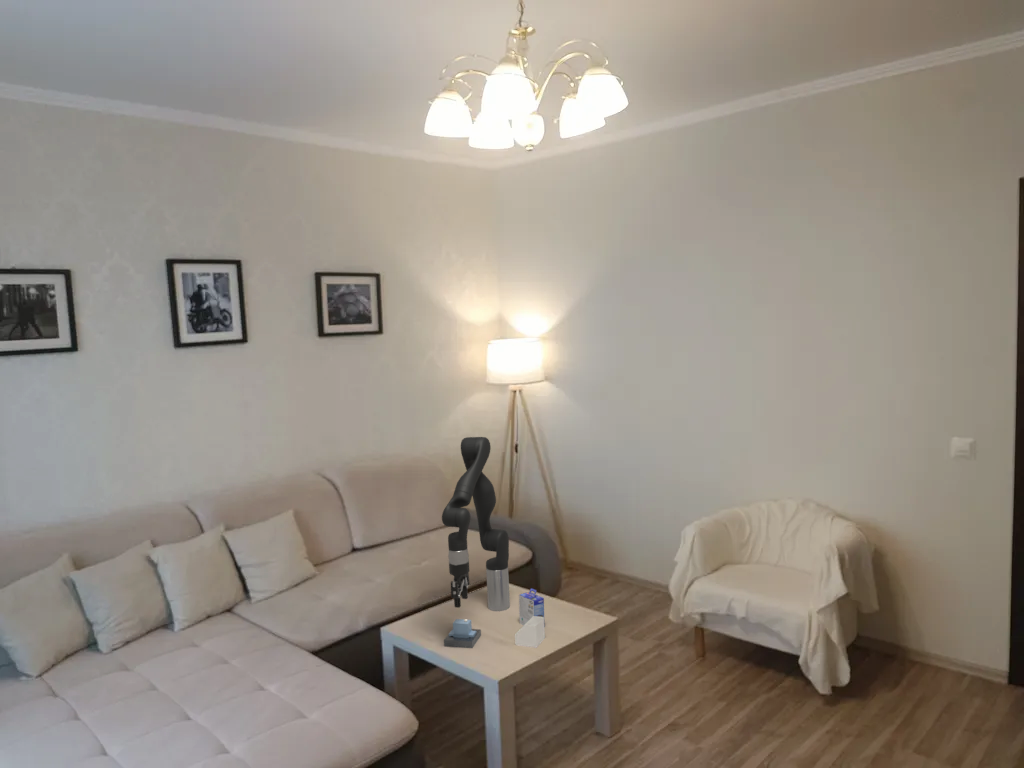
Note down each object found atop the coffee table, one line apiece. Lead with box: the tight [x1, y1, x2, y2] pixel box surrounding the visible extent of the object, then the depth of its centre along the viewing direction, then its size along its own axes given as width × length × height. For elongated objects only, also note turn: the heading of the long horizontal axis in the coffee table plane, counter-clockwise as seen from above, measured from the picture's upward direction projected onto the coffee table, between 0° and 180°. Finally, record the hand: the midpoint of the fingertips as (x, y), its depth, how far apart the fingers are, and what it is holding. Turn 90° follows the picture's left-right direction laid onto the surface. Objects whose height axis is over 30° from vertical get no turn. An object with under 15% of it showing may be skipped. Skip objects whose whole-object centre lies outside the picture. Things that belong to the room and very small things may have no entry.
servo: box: [448, 618, 476, 638], centre depth 267 cm, size 4×10×8 cm, turn 75°
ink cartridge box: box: [518, 587, 546, 628], centre depth 278 cm, size 10×6×14 cm, turn 37°
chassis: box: [443, 628, 482, 649], centre depth 267 cm, size 11×11×2 cm
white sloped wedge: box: [514, 616, 546, 649], centre depth 266 cm, size 8×15×8 cm, turn 158°
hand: (461, 602), depth 267 cm, fingers open, 8 cm apart
